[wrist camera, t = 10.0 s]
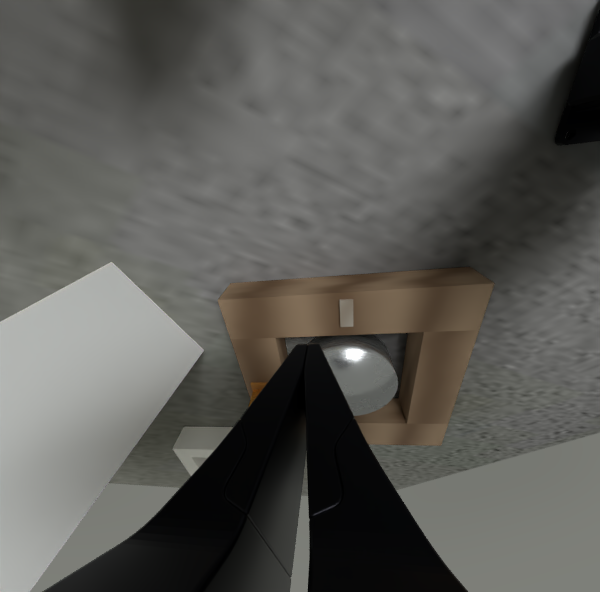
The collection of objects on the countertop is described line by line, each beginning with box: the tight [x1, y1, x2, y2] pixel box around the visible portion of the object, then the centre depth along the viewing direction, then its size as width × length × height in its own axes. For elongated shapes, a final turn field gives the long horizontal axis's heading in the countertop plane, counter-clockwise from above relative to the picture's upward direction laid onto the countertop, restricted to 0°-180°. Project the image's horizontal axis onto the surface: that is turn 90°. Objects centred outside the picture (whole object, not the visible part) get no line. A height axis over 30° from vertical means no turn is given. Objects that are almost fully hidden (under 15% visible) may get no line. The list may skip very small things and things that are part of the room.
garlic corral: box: [172, 426, 233, 476], centre depth 34 cm, size 14×14×3 cm
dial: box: [248, 334, 398, 416], centre depth 21 cm, size 14×9×7 cm, turn 102°
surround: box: [218, 267, 495, 446], centre depth 23 cm, size 20×20×3 cm
